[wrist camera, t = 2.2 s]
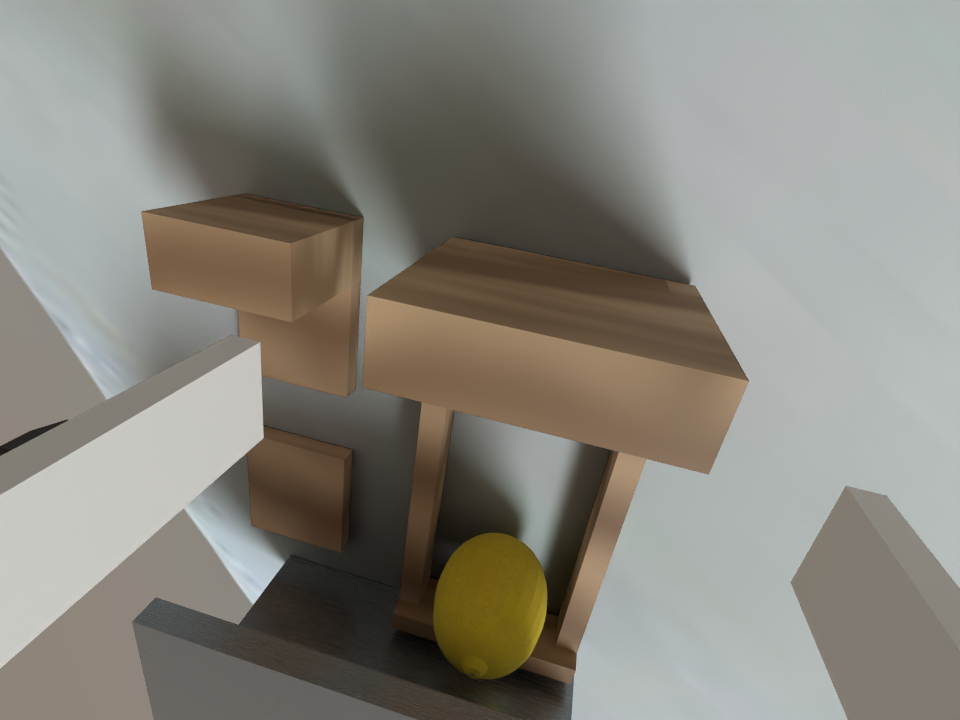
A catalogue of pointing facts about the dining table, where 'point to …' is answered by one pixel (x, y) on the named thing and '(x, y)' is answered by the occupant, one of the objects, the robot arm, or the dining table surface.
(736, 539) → the dining table surface
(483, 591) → the lemon
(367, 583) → the shelf
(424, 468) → the wooden frame
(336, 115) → the dining table surface
